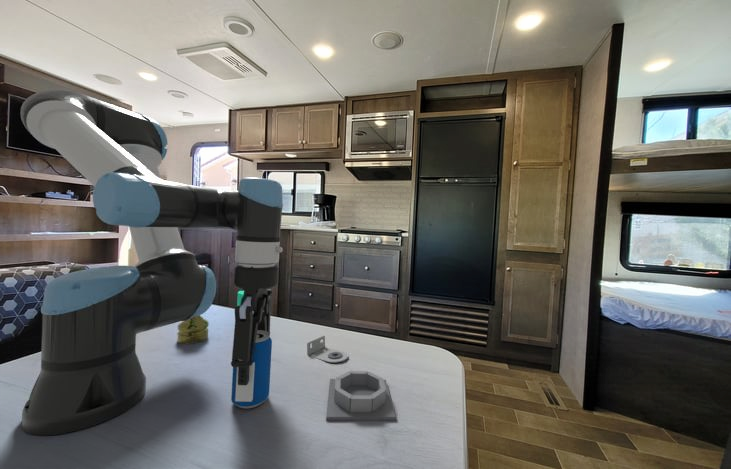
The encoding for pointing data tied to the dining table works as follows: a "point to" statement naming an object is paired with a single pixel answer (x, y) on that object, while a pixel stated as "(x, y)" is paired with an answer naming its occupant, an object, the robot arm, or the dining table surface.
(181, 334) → the yellow knotted piece
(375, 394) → the cup holder
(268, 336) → the beverage can
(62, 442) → the dining table surface
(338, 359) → the bracket
